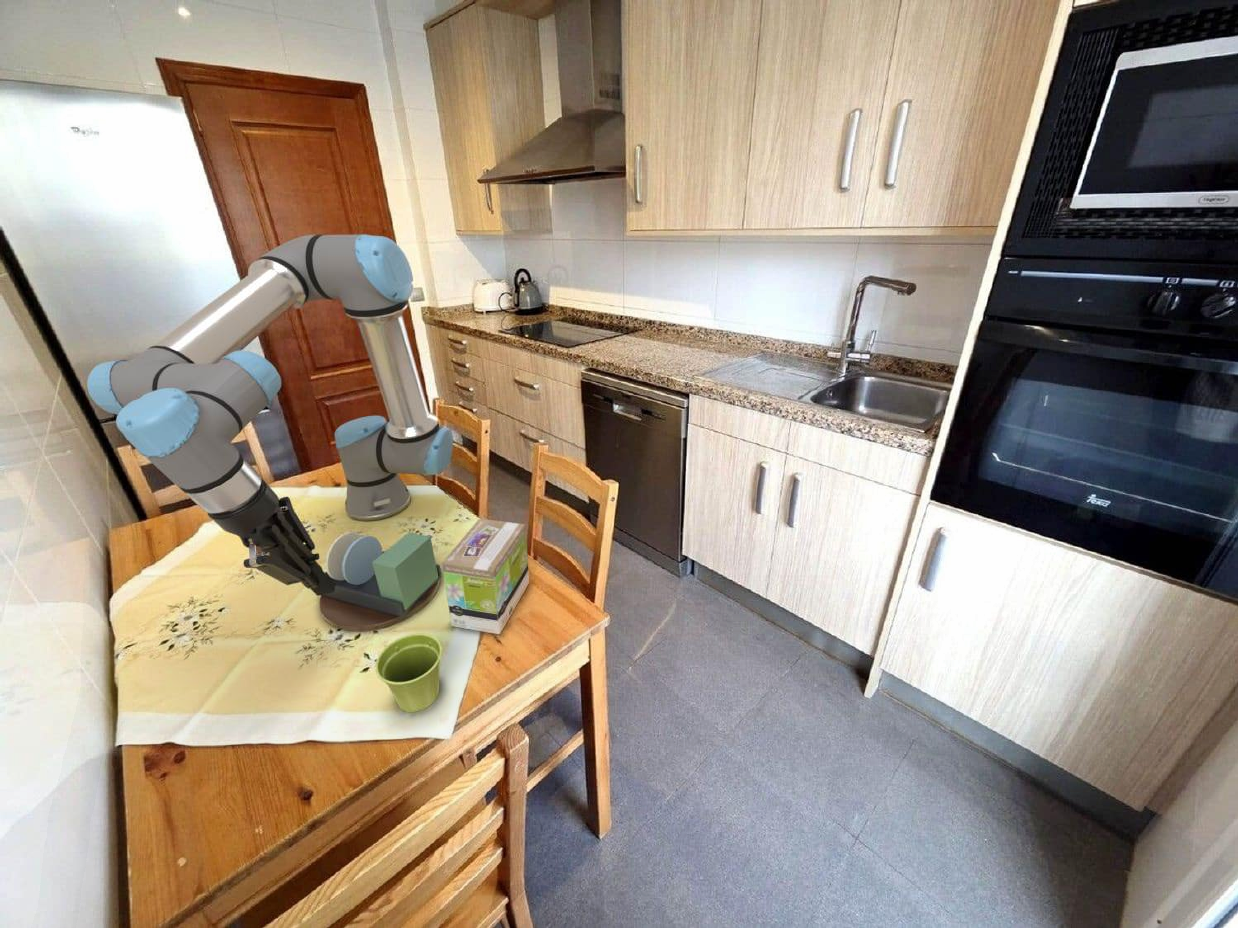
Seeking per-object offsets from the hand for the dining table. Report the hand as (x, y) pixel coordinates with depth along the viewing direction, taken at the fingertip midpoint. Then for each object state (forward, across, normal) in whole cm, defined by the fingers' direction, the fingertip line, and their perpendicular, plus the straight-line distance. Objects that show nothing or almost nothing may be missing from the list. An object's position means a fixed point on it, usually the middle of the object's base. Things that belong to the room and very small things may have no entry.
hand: (326, 590), depth 84 cm
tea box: (+17, -1, +23) cm, 29 cm away
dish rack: (+14, -10, +1) cm, 17 cm away
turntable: (+15, -9, +1) cm, 18 cm away
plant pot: (+10, +17, +13) cm, 24 cm away
